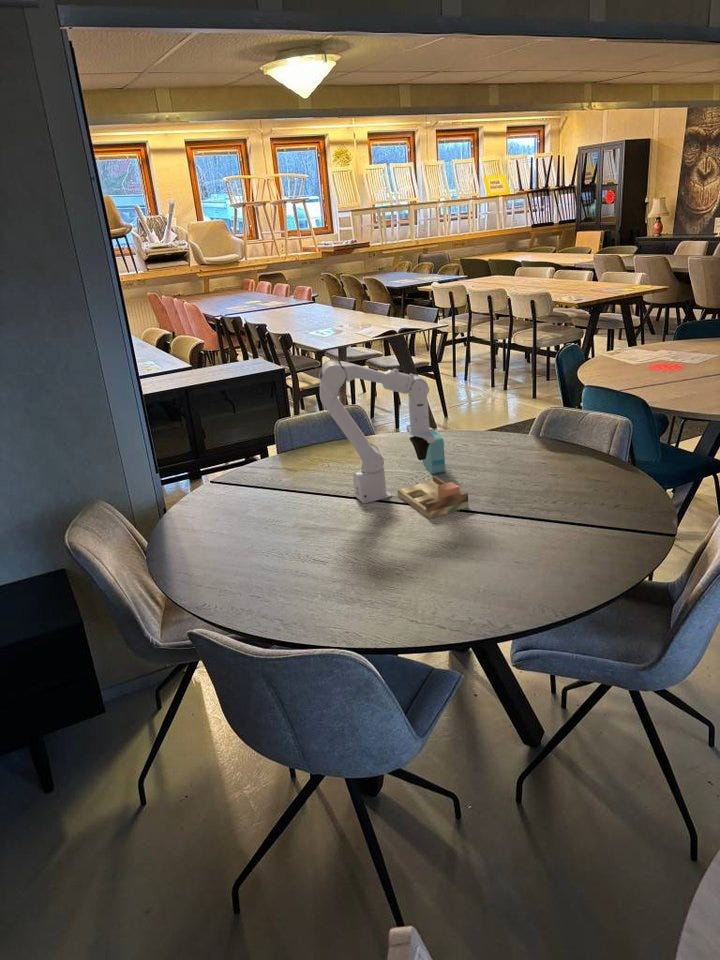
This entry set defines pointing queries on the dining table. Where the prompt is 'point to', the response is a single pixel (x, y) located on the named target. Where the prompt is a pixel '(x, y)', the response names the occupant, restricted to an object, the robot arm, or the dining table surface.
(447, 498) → the trap board
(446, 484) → the block
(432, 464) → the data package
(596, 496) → the dining table surface
